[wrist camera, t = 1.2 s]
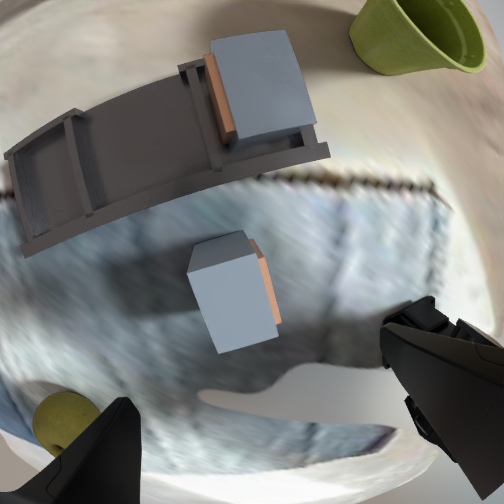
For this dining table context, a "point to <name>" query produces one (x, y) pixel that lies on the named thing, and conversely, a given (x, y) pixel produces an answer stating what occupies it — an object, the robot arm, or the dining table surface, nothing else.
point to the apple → (62, 420)
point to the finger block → (234, 291)
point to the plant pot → (418, 36)
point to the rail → (166, 140)
